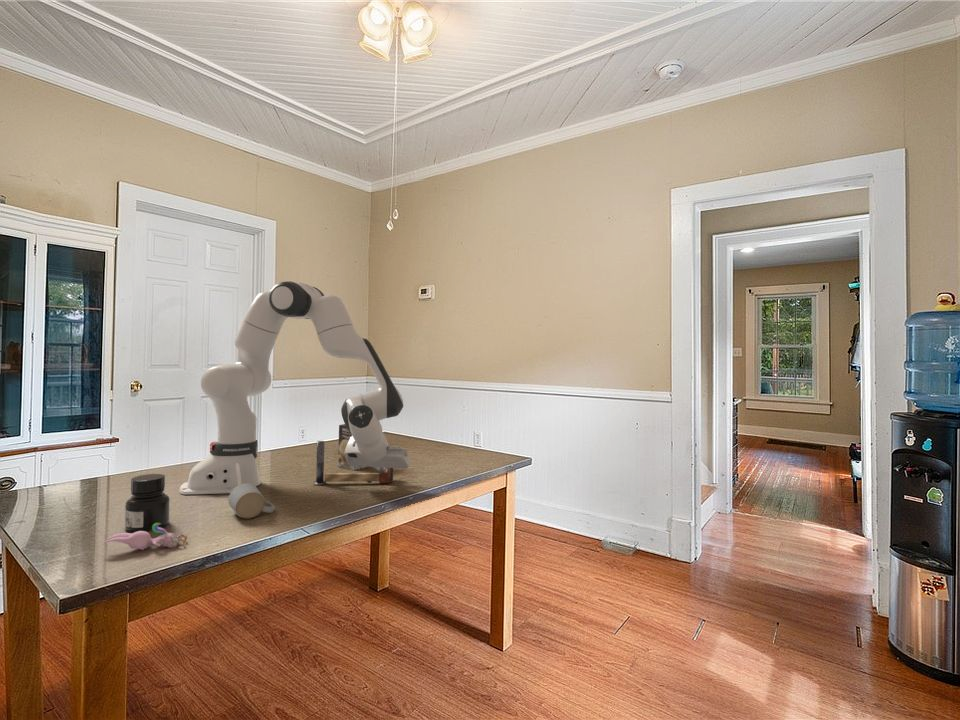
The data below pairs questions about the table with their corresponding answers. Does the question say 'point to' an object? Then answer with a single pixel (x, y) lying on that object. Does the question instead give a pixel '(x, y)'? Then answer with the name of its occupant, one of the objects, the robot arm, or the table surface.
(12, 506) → the table surface
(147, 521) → the ink bottle
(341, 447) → the coffee box
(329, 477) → the gate
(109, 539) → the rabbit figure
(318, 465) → the hinge post
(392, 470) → the catch block
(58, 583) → the table surface
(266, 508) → the ceramic mug
